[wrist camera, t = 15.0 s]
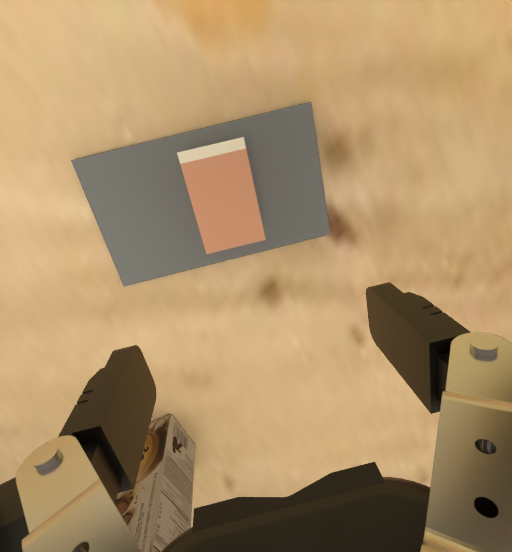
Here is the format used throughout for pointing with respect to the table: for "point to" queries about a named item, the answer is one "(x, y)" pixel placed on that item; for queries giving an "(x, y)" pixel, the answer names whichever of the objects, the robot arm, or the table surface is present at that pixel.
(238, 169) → the block
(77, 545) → the robot arm
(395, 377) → the table surface
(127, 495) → the brown food box
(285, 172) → the mat
